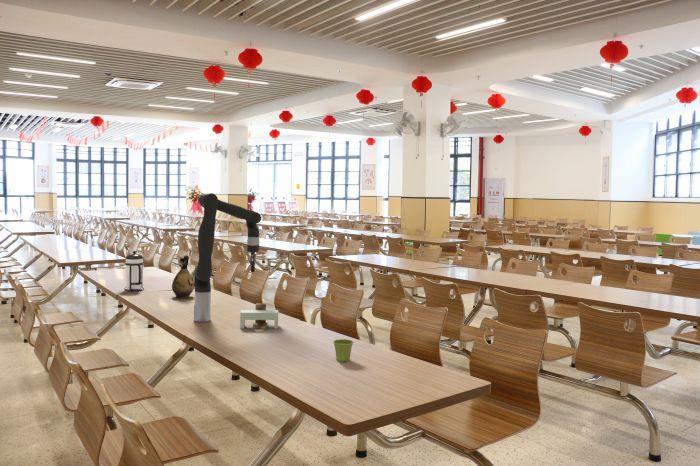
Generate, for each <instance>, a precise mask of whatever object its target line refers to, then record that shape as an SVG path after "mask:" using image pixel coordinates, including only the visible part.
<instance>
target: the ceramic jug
mask: <svg viewBox="0 0 700 466" xmlns="http://www.w3.org/2000/svg"><path fill="white" fill-rule="evenodd" d="M189 259H190V256H189V255H187V254H186V255H184V256H183V257H181V258H180V259H179V263H180V264H181V268H180V269H179V271H178V272H177V273H176V275H175V277H174V278H173V281H172V284H171V289H172V292H173V294H174V295H175V298H178V299H187V297H188V298H189V297H190V295H191V294H192V293H193V292H194V291H195V287H194V277H193V276H192V275H191V273H190V271H189V269H188V265H189Z"/></svg>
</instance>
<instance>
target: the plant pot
mask: <svg viewBox="0 0 700 466" xmlns="http://www.w3.org/2000/svg"><path fill="white" fill-rule="evenodd" d="M332 342H333V345H334V351H335V359H336V361H337V362H339V363H344V362H349V361H350V360H351V354H352V347H353V344H355V342H354V341H353V340H351V339H345V338H341V339H340V338H339V339H335V340H333V341H332Z"/></svg>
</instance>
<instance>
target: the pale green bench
mask: <svg viewBox="0 0 700 466" xmlns="http://www.w3.org/2000/svg"><path fill="white" fill-rule="evenodd" d="M239 315H240V317H239V318H240V319H239V321H240V322H239V329H240V330H242V329H245V326H246V325H245V324H246V322H245V321H248V320H249V321H255V320H266V321H274V322H273V323H274V326H273V327H274V329H276V330H277V329H279V309H266V310H255V309H241V310H240V313H239Z"/></svg>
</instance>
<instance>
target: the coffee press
mask: <svg viewBox="0 0 700 466" xmlns="http://www.w3.org/2000/svg"><path fill="white" fill-rule="evenodd" d="M124 258H125V287H124V290H125V291H126V290H128V292H132V291H133V290H141V291H144V290H145V288H144V287H143V285H144V284H143V282H144V281H143V280H144V279H143V277H144V275H143V274H144V273H143V271H144V270H143V268H144V261H143V260H144V257H143V255H141V254H140V253H137V251H136V250H133V251H132V253H129V254H127V255H125V257H124Z"/></svg>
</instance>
